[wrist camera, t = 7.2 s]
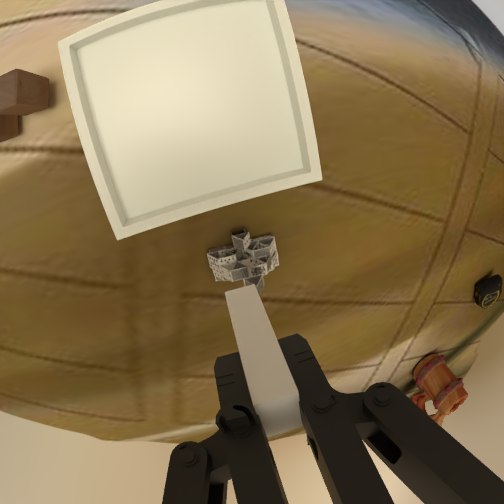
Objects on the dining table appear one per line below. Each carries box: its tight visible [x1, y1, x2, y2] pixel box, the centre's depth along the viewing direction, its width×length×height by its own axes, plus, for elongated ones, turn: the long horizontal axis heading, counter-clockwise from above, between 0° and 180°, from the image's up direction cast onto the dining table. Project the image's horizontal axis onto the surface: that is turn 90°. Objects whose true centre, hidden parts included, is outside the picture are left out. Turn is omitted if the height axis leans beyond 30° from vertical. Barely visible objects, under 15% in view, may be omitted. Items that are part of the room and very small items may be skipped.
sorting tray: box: [58, 0, 322, 240], centre depth 22 cm, size 20×20×3 cm
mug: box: [412, 354, 468, 426], centre depth 48 cm, size 15×8×15 cm, turn 158°
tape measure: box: [475, 275, 502, 308], centre depth 45 cm, size 7×7×4 cm
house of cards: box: [207, 229, 279, 296], centre depth 28 cm, size 9×9×8 cm
